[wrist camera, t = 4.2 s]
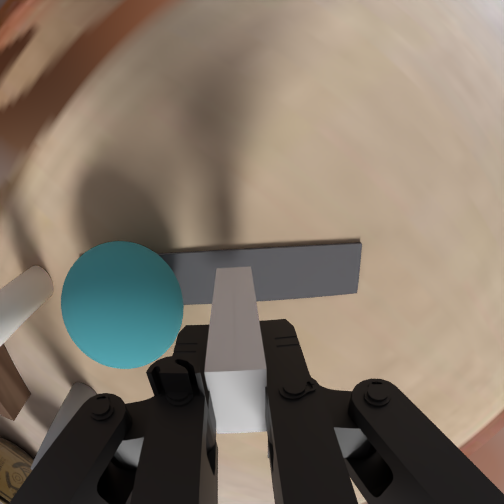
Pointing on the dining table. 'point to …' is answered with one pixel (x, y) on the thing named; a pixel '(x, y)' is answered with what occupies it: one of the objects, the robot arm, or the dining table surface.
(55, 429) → the grey pin
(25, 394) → the backstop
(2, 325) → the white pin
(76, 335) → the ball
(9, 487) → the ceramic bowl
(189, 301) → the grey flat bar
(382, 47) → the dining table surface
